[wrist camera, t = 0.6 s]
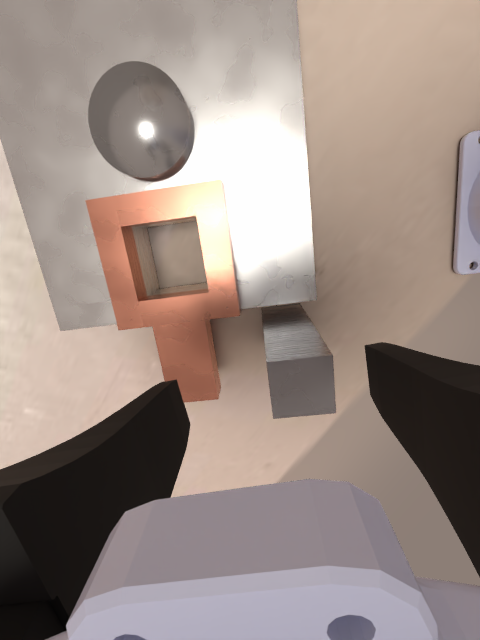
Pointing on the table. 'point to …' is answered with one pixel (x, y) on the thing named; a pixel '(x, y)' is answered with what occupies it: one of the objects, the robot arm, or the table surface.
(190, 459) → the table surface
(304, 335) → the grey rectangular block
